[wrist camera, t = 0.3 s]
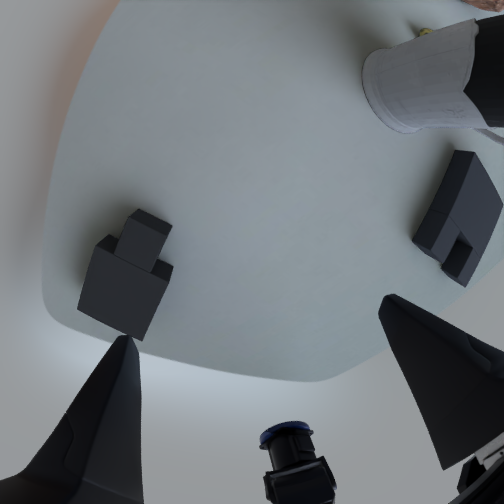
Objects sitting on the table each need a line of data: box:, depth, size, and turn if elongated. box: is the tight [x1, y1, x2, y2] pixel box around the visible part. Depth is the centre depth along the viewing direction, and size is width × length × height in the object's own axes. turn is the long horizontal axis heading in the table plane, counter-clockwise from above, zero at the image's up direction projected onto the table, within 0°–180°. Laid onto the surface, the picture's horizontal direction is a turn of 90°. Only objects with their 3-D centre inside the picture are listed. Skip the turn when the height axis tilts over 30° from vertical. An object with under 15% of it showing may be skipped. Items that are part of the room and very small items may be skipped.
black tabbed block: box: [77, 209, 173, 341], centre depth 19 cm, size 6×9×3 cm, turn 149°
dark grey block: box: [412, 150, 503, 287], centre depth 23 cm, size 12×10×3 cm
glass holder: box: [362, 15, 504, 145], centre depth 13 cm, size 9×14×15 cm, turn 67°
